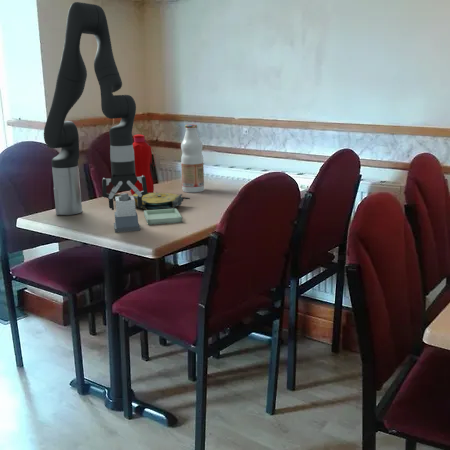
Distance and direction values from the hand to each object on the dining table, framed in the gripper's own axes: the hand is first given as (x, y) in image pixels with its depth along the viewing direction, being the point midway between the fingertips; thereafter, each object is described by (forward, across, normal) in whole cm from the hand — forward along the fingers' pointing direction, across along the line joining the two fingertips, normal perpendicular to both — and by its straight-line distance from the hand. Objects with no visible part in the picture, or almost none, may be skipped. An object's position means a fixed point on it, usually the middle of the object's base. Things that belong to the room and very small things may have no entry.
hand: (126, 208), depth 187 cm
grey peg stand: (+7, 0, 0) cm, 7 cm away
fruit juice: (+7, +32, +54) cm, 63 cm away
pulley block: (+6, +10, +29) cm, 31 cm away
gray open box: (+2, 0, 0) cm, 2 cm away
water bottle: (+7, +11, +53) cm, 55 cm away
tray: (+7, +13, +9) cm, 17 cm away
